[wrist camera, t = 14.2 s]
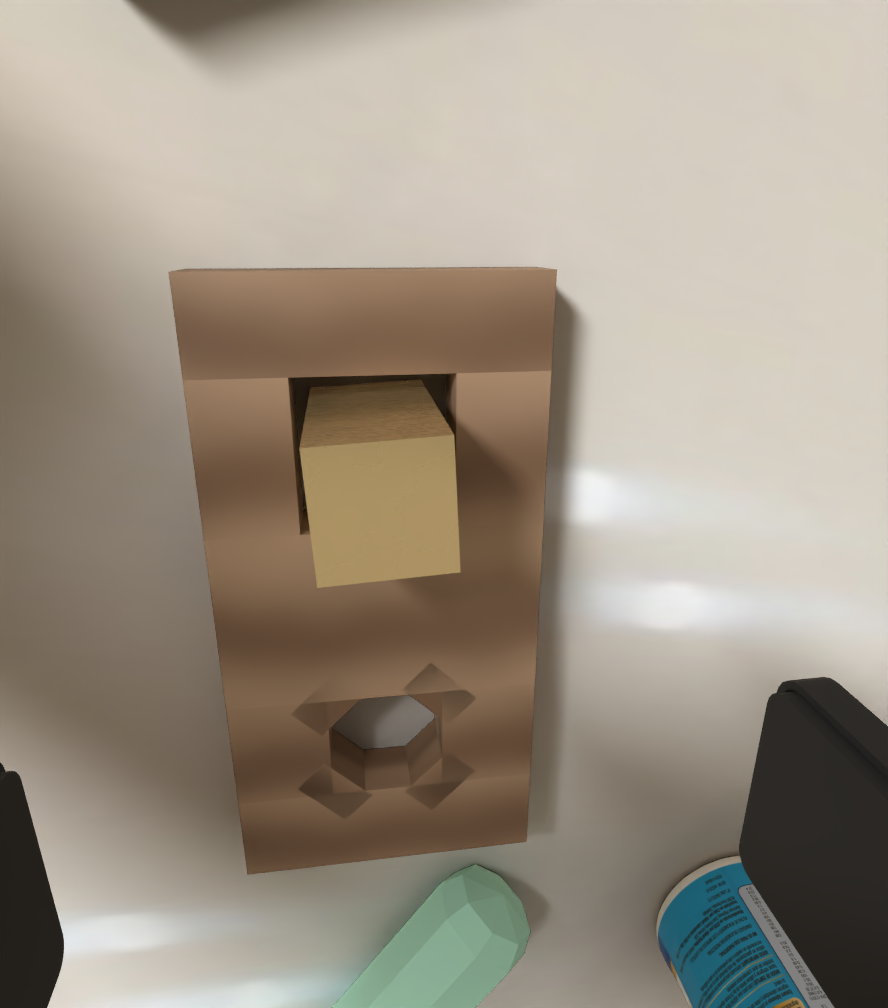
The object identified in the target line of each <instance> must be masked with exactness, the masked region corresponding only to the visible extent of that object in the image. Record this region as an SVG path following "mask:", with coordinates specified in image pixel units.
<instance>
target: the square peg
mask: <svg viewBox="0 0 888 1008" xmlns="http://www.w3.org/2000/svg"><path fill="white" fill-rule="evenodd" d="M299 449H300V457H301V465H302V473H303V481H304V488H305V496H306V504H307V512H308V520H309V527H310V535H311V543H312V551H313V559H314V566H315V574H316V582H317V588H322V587H331V586H340V585H349V584H358V583H367V582H377V581H386V580H395V579H404V578H413V577H422V576H432V575H441V574H450V573H459V572H461V571H460V549H459V528H458V506H457V484H456V462H455V441H454V434H453V432H452V430H451V429H450V427H449V425H448V424H447V422H446V420H445V419H444V417H443V416H442V414H441V412H440V411H439V409H438V407H437V406H436V404H435V402H434V401H433V399H432V397H431V396H430V394H429V392H428V391H427V389H426V387H425V386H424V384H423V382H422V381H421V379H416V380H403V381H390V382H377V383H364V384H351V385H338V386H325V387H312V388H310V393H309V398H308V404H307V409H306V415H305V420H304V426H303V431H302V437H301V442H300V447H299Z"/></svg>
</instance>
